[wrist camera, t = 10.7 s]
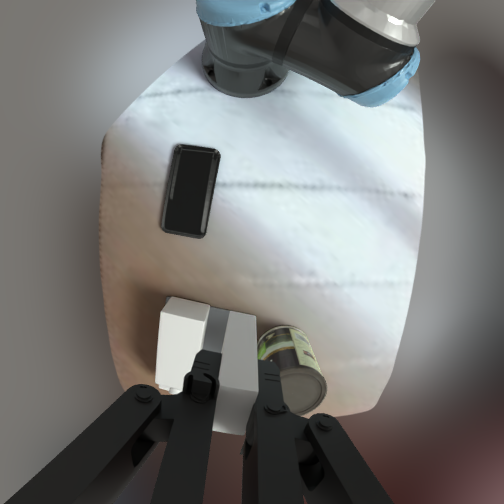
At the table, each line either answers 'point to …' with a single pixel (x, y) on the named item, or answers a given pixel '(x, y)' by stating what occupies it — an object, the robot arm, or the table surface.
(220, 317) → the mat
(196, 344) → the milk carton
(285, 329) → the coffee can
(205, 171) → the phone
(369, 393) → the table surface
